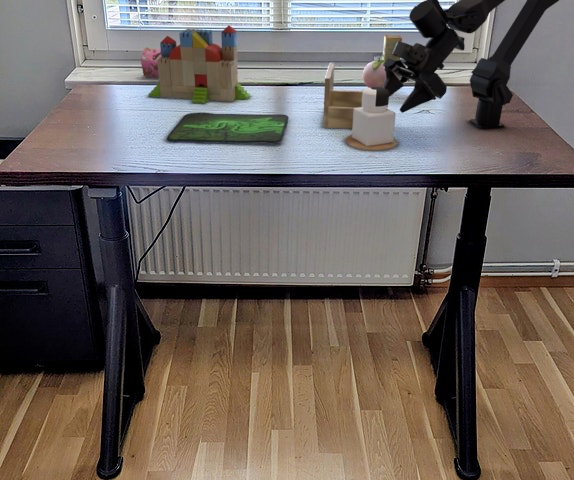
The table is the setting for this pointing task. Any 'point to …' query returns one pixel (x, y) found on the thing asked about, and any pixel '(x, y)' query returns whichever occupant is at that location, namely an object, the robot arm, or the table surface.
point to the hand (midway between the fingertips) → (389, 106)
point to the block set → (199, 67)
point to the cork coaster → (358, 145)
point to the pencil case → (150, 62)
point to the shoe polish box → (390, 46)
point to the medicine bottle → (374, 118)
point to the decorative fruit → (374, 73)
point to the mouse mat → (230, 128)
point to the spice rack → (339, 103)
